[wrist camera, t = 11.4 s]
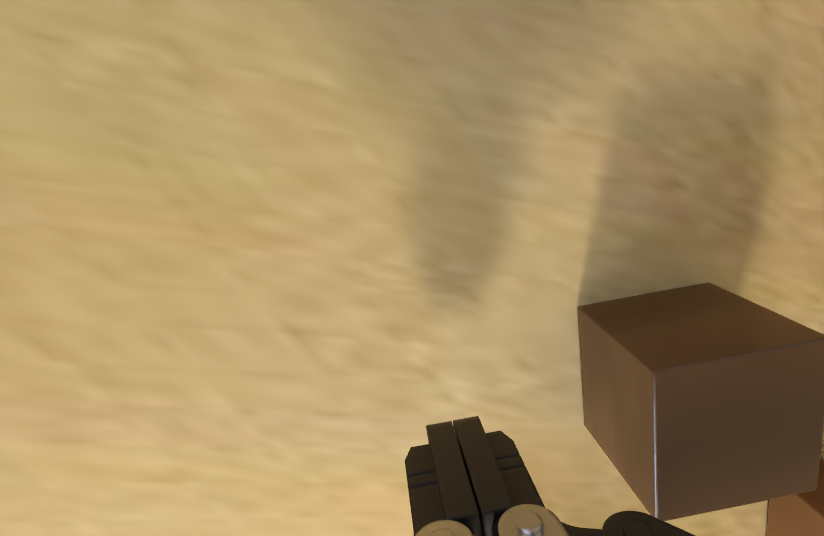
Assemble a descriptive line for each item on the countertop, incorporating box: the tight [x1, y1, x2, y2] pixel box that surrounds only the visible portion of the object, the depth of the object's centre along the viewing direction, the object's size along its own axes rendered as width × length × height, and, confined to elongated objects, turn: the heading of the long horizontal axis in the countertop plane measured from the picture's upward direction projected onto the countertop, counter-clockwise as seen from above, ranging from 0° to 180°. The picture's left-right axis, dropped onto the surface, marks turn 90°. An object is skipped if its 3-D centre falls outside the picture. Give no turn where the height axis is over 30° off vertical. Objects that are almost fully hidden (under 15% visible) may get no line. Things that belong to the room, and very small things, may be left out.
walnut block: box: [577, 283, 824, 521], centre depth 15 cm, size 4×4×4 cm
